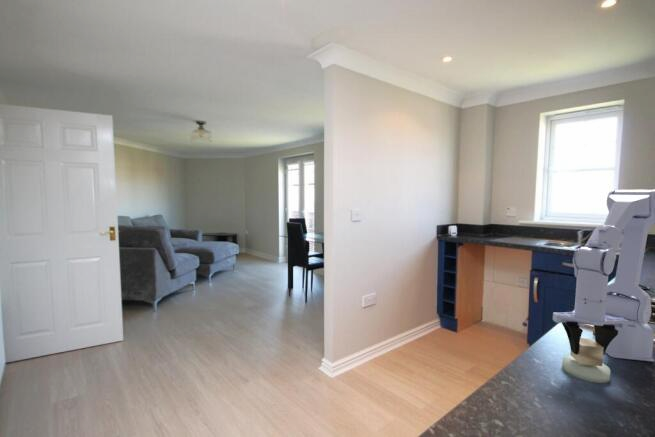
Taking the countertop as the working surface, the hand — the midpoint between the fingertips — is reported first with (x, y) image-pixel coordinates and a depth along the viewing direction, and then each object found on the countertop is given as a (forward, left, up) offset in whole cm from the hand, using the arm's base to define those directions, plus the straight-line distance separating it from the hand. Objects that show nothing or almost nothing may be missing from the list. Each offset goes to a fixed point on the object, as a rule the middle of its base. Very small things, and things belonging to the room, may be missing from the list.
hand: (586, 353), depth 78 cm
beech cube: (0, 0, -2) cm, 2 cm away
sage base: (0, 0, -5) cm, 5 cm away
